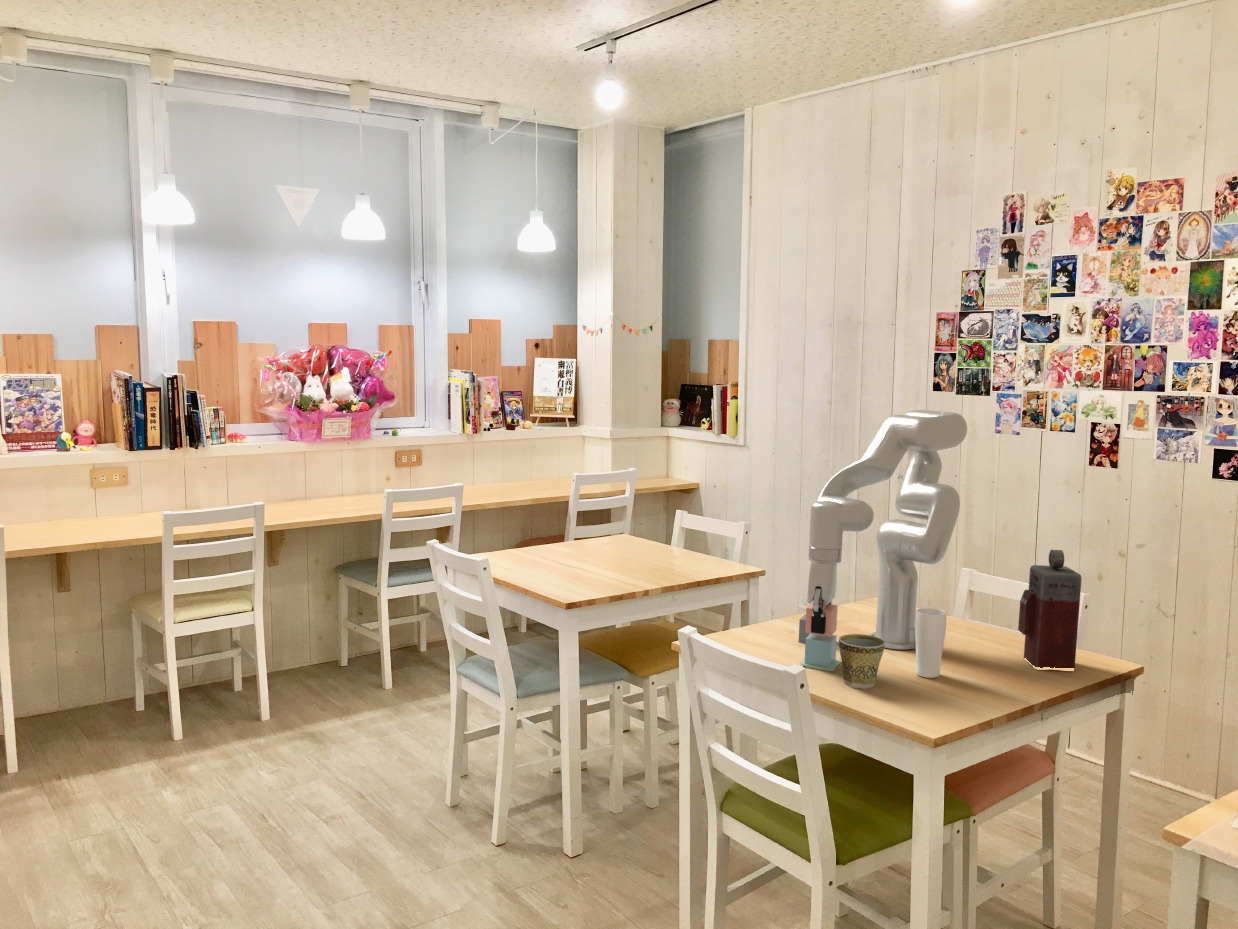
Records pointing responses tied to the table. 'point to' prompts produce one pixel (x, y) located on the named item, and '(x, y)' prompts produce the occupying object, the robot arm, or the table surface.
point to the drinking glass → (929, 641)
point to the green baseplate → (822, 666)
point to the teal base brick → (820, 650)
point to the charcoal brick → (802, 630)
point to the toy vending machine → (1051, 614)
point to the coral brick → (830, 619)
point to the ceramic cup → (860, 659)
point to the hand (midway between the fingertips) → (821, 628)
